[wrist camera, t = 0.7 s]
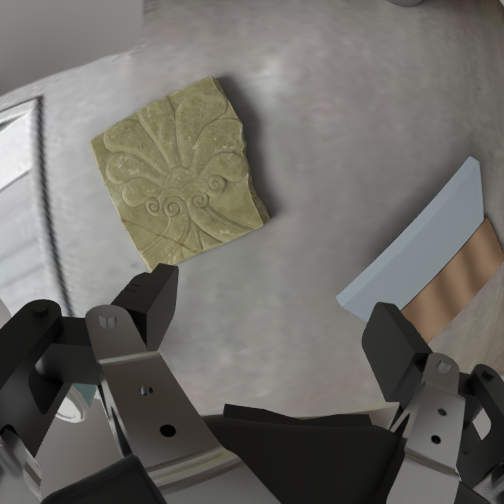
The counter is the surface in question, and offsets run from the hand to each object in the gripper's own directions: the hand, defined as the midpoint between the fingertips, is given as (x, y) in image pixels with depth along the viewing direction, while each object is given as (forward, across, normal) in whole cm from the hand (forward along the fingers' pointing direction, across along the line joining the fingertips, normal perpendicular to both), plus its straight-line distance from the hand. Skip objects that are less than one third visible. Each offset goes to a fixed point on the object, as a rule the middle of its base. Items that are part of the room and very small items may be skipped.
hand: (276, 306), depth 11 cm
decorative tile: (+28, +11, -1) cm, 29 cm away
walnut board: (+27, -32, +8) cm, 42 cm away
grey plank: (+23, -21, +2) cm, 31 cm away
